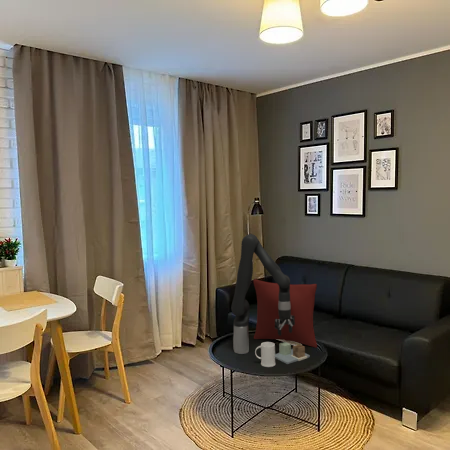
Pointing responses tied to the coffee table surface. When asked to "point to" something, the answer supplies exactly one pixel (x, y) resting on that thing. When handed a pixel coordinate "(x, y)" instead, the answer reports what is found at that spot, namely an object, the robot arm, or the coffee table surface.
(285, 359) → the mat
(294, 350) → the walnut block
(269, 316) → the pillow
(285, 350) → the sage block
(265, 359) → the mug
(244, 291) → the robot arm
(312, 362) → the coffee table surface
